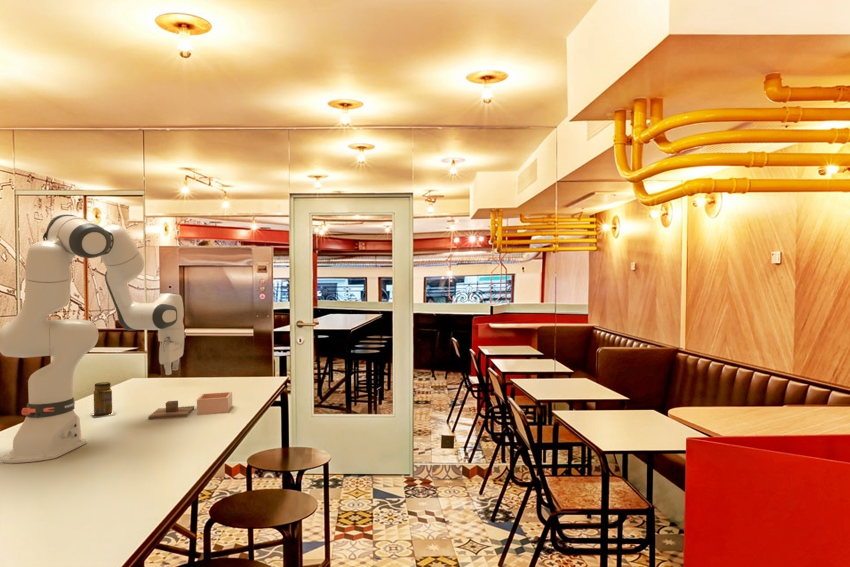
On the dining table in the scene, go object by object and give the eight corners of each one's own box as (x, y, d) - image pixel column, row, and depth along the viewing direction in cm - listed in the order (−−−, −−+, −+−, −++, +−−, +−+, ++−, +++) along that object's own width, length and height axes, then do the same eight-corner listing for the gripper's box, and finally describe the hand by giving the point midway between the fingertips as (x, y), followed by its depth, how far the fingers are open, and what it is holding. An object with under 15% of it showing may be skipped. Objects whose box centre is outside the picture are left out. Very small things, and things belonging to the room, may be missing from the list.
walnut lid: (186, 417, 194) (186, 404, 194) (148, 420, 191) (147, 407, 191) (194, 409, 207) (194, 397, 207) (158, 411, 204) (158, 399, 204)
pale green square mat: (187, 418, 194) (187, 417, 194) (146, 421, 191) (146, 420, 191) (196, 409, 208) (195, 408, 208) (157, 412, 205) (157, 411, 205)
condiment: (112, 411, 209) (111, 380, 209) (116, 414, 202) (115, 383, 202) (90, 414, 204) (89, 383, 204) (93, 418, 198) (92, 386, 198)
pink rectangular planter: (228, 413, 200) (227, 397, 200) (197, 415, 198) (196, 399, 198) (232, 406, 211) (232, 391, 211) (203, 409, 209) (202, 393, 209)
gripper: (172, 338, 189) (173, 377, 190) (186, 332, 209) (187, 367, 210) (153, 339, 188) (154, 378, 188) (169, 333, 208) (170, 368, 208)
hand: (172, 372), depth 199 cm, fingers open, 8 cm apart
